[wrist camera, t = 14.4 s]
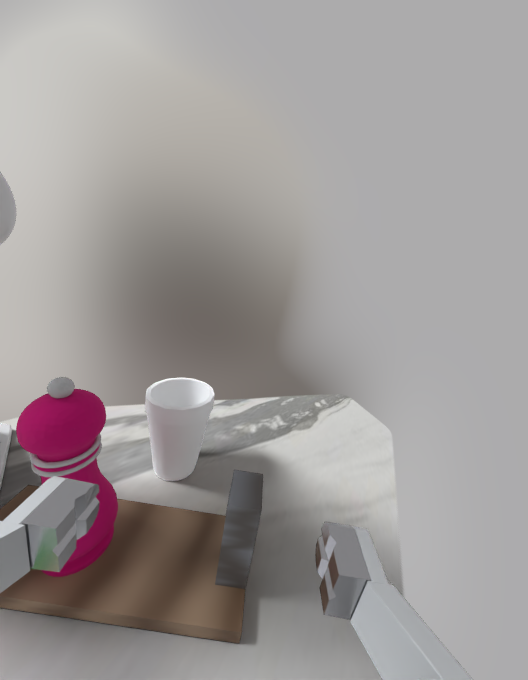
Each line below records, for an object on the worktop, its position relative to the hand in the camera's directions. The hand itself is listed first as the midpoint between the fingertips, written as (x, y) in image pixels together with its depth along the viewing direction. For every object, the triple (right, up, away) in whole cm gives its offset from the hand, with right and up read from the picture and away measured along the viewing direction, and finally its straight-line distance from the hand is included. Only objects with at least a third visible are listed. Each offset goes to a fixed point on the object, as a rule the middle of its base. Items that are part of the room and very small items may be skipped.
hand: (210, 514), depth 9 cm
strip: (-14, -17, +17) cm, 28 cm away
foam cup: (-12, -14, +30) cm, 35 cm away
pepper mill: (-18, -16, +17) cm, 29 cm away
